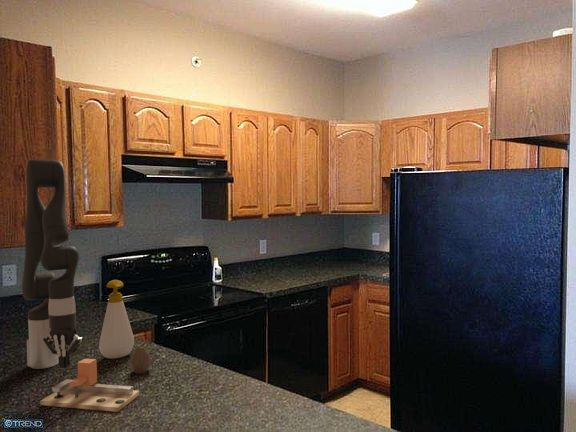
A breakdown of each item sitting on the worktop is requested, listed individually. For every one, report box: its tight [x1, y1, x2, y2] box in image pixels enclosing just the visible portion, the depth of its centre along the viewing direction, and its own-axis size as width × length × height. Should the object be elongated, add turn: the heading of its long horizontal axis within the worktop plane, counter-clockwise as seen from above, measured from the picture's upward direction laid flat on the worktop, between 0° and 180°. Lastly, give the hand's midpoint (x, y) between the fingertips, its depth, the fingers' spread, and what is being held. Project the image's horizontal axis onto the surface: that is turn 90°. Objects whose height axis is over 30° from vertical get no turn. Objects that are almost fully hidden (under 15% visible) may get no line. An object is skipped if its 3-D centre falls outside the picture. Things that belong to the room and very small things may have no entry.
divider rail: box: [51, 378, 134, 397], centre depth 146 cm, size 23×8×3 cm, turn 78°
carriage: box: [70, 358, 98, 398], centre depth 147 cm, size 4×8×9 cm, turn 168°
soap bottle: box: [98, 279, 135, 360], centre depth 183 cm, size 13×10×29 cm
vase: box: [129, 344, 152, 374], centre depth 168 cm, size 7×7×9 cm
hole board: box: [39, 389, 141, 413], centre depth 146 cm, size 25×12×1 cm, turn 78°
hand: (64, 367), depth 151 cm, fingers closed
